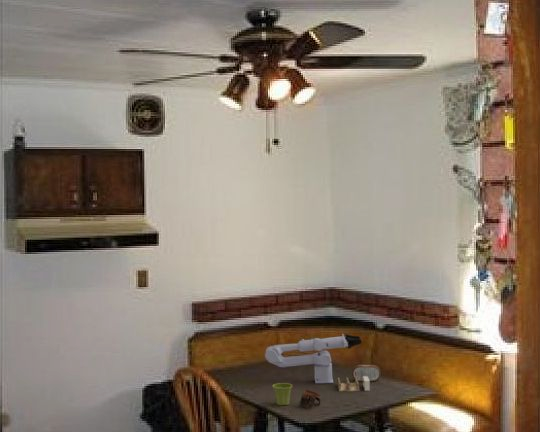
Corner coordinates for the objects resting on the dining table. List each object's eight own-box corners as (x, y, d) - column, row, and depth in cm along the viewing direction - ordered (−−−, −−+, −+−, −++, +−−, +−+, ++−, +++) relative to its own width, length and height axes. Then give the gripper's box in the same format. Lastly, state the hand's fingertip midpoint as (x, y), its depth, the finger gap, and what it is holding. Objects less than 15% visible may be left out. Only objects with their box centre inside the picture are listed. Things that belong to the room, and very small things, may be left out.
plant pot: (279, 399, 314) (278, 381, 314) (296, 402, 309) (295, 384, 309) (269, 405, 306) (268, 386, 305) (286, 407, 301) (286, 389, 301)
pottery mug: (295, 404, 307) (302, 388, 309) (313, 412, 307) (320, 396, 310) (302, 405, 295) (308, 388, 298) (320, 413, 296) (327, 396, 299)
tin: (380, 380, 344) (380, 364, 344) (381, 381, 341) (380, 365, 341) (352, 380, 346) (351, 364, 346) (352, 381, 343) (351, 365, 343)
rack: (339, 391, 325) (339, 383, 325) (337, 384, 337) (337, 377, 337) (359, 390, 325) (359, 383, 325) (357, 384, 337) (356, 377, 337)
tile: (364, 390, 325) (364, 380, 325) (362, 386, 334) (362, 376, 334) (369, 390, 325) (369, 380, 325) (367, 385, 334) (367, 376, 334)
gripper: (334, 337, 337) (361, 335, 336) (333, 332, 351) (358, 329, 351) (336, 351, 337) (362, 348, 336) (334, 345, 351) (359, 342, 351)
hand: (360, 339), depth 343 cm, fingers open, 7 cm apart
